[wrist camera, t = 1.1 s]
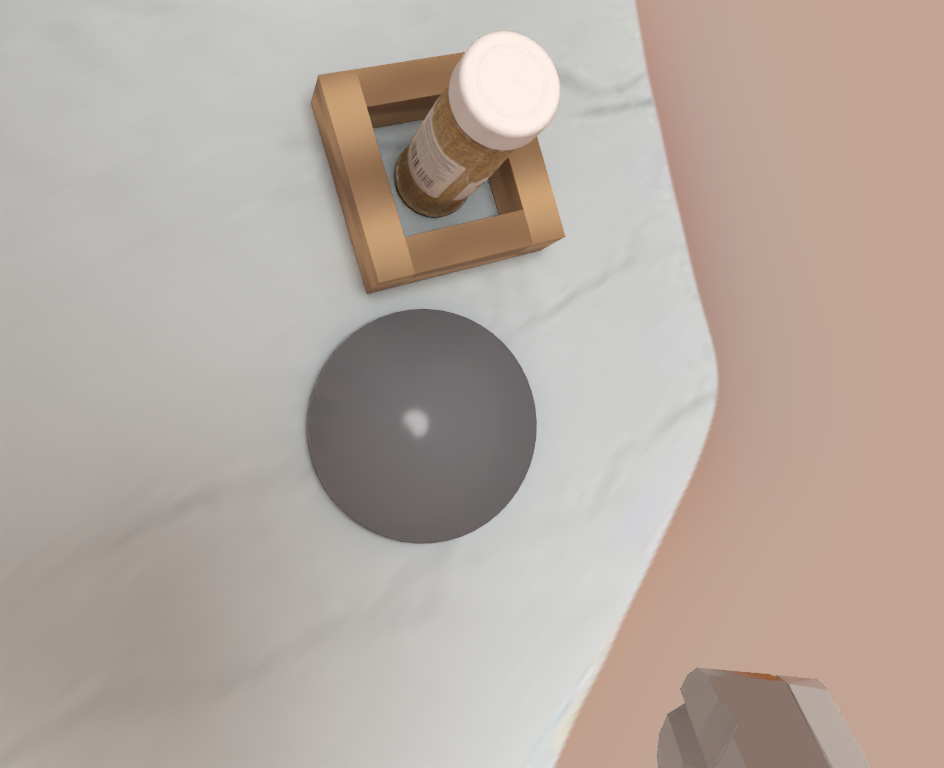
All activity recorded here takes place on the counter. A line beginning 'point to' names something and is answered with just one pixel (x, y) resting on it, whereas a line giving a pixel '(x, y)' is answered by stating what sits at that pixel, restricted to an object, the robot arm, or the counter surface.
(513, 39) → the sprinkles bottle
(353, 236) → the frame
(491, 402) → the slate coaster
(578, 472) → the counter surface
